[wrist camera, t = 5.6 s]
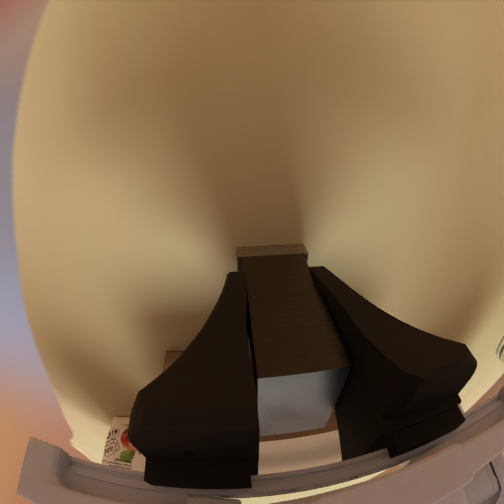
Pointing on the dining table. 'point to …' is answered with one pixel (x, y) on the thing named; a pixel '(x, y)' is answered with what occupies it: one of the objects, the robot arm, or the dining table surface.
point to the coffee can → (501, 351)
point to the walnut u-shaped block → (292, 444)
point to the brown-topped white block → (290, 341)
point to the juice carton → (122, 448)
